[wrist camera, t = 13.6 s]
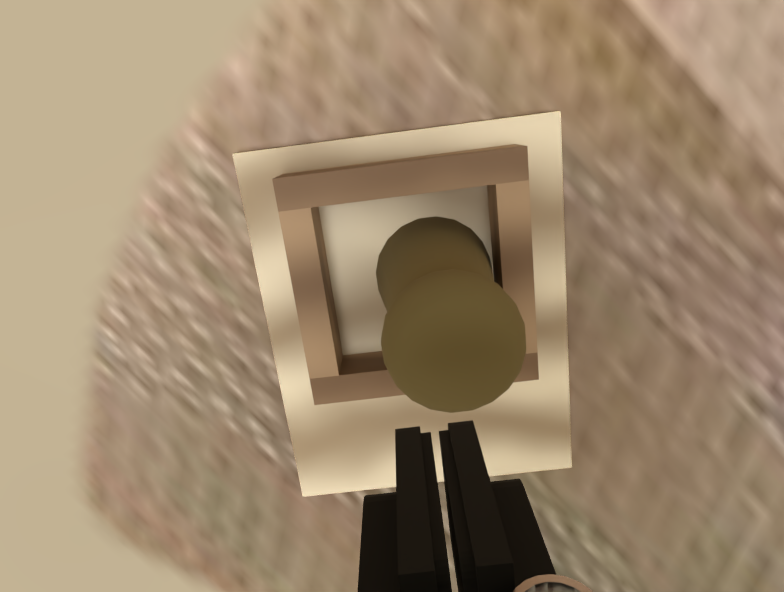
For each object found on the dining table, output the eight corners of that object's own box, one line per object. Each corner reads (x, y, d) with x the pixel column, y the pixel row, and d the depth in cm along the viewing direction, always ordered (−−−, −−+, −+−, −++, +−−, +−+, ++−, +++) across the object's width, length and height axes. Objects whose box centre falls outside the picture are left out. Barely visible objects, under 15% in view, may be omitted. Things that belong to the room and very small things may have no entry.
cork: (450, 192, 27) (488, 235, 17) (512, 287, 29) (582, 382, 18) (352, 259, 28) (330, 339, 18) (417, 348, 30) (432, 469, 20)
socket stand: (566, 457, 33) (586, 494, 30) (305, 486, 34) (296, 525, 30) (554, 111, 27) (577, 109, 24) (237, 152, 28) (217, 156, 24)
